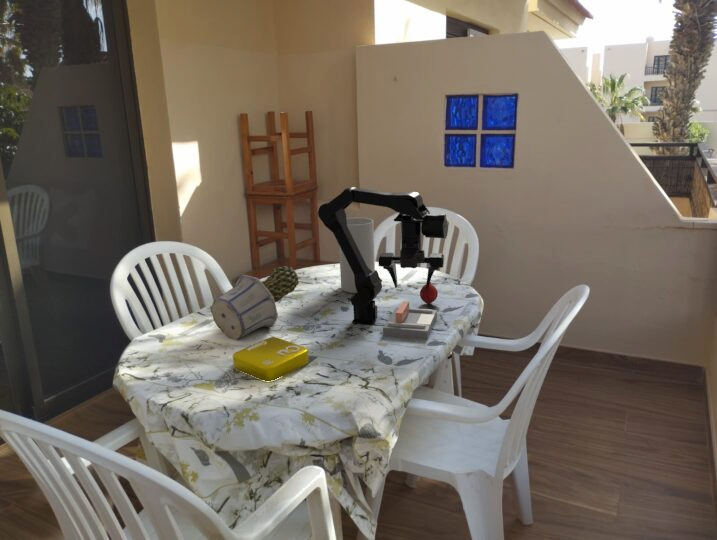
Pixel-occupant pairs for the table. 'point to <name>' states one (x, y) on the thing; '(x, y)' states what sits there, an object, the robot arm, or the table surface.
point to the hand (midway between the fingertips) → (411, 287)
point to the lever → (402, 311)
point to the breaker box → (411, 324)
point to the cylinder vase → (365, 243)
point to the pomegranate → (428, 293)
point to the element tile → (270, 358)
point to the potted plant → (252, 302)
